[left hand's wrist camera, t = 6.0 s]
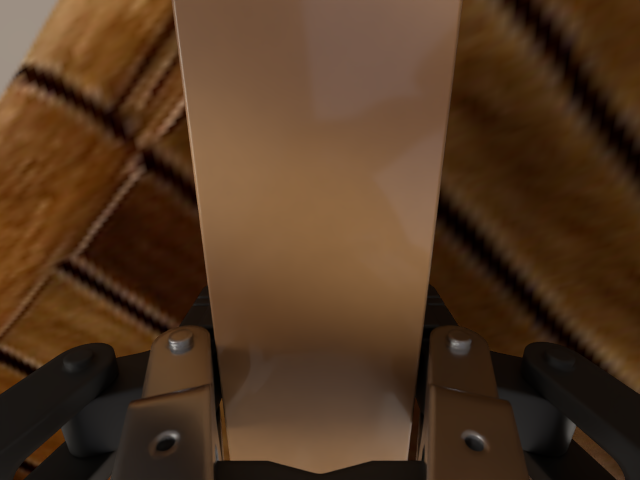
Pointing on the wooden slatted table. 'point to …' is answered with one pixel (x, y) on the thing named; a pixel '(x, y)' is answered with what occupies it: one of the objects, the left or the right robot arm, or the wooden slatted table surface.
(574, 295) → the wooden slatted table surface
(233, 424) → the beam
